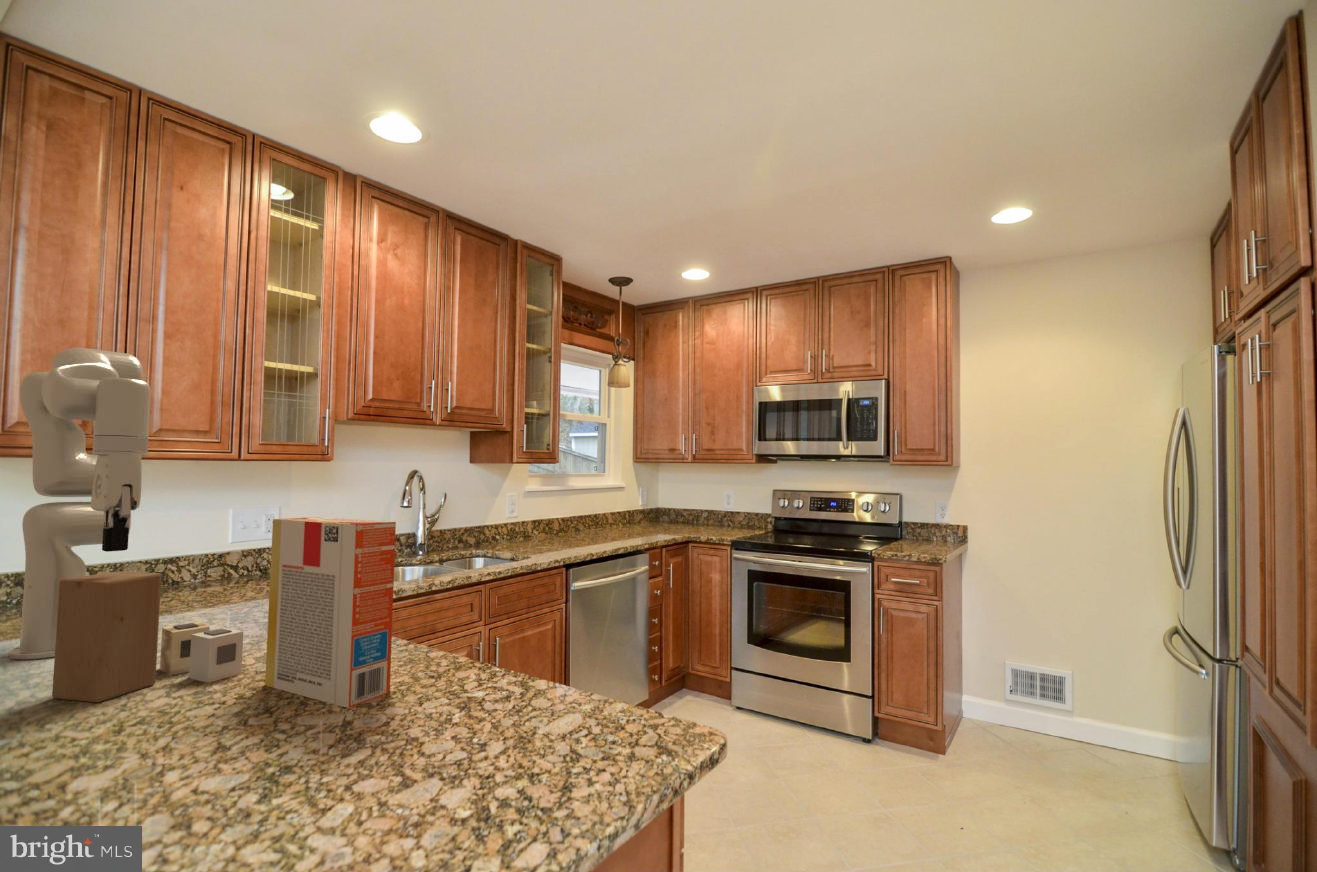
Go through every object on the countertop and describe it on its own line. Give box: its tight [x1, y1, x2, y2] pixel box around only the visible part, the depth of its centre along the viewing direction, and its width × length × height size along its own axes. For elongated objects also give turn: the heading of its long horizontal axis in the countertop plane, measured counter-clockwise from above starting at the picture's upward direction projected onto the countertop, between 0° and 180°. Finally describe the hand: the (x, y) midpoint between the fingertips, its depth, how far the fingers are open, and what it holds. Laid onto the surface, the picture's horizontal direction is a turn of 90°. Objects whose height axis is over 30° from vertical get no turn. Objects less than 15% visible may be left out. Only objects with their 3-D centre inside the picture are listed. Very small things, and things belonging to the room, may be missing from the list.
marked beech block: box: [159, 621, 210, 676], centre depth 124 cm, size 6×6×8 cm
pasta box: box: [264, 516, 397, 709], centre depth 114 cm, size 23×8×30 cm, turn 63°
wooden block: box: [51, 570, 162, 703], centre depth 111 cm, size 10×10×20 cm
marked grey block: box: [188, 627, 244, 684], centre depth 120 cm, size 6×6×8 cm
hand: (114, 550), depth 112 cm, fingers closed
